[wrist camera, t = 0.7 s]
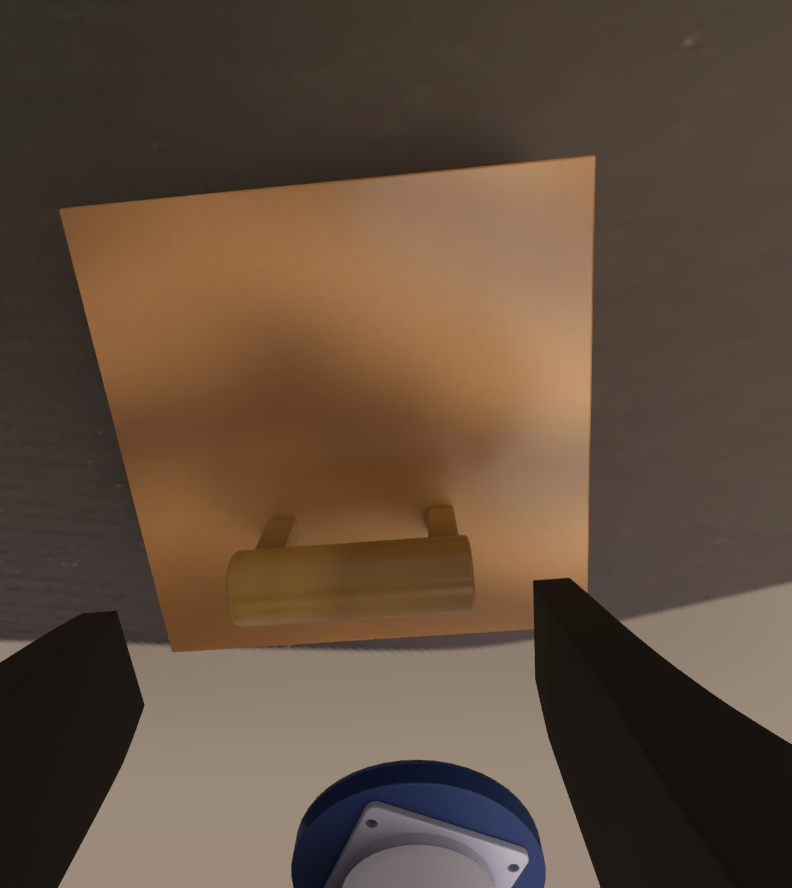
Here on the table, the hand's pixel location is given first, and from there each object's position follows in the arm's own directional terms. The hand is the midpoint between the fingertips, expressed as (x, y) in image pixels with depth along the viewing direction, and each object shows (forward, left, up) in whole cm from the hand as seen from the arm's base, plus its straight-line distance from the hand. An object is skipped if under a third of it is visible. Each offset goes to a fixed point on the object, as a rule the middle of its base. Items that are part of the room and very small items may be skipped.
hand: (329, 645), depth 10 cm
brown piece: (+2, +1, -6) cm, 6 cm away
